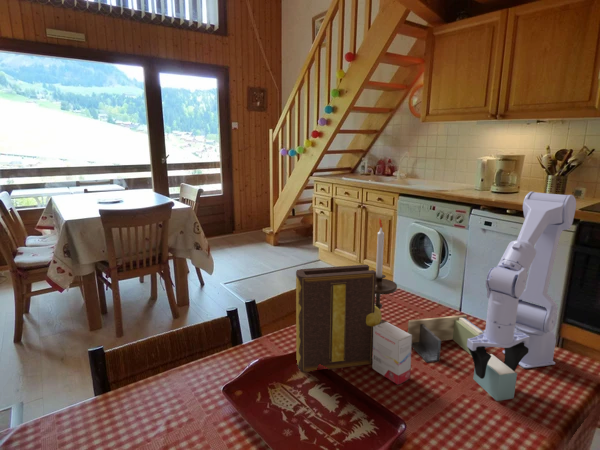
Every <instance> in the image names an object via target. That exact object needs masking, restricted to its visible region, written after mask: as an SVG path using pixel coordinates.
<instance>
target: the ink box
mask: <svg viewBox="0 0 600 450" xmlns="http://www.w3.org/2000/svg"><path fill="white" fill-rule="evenodd" d="M411 343H412V335H411V334H409V333H408V331H405V330H403V329H401V328H399V327H398V326H396V325H394V324H392V323H390V322H389V323H388V321H387V322H384V323H381V324H379V325H376V326H373V355H372V369H373V370H374V371H376V372H377V373H379V374H380V375H381V376H383V377H385V378H387V379H388V380H389V381H391V382H393V383H394V384H395V385H397V386H399V385H401V384H402V383H404V382H406V381H408V380H410V379H411V371H412V370H411V369H412V368H411V366H412V346H411Z"/></svg>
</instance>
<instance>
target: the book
mask: <svg viewBox="0 0 600 450" xmlns="http://www.w3.org/2000/svg"><path fill="white" fill-rule="evenodd" d="M375 286H376V270H375V269H371V270H370V265H368V264H356V265H354V264H353V265H341V266H328V267H327V266H325V267H313V268H311V267H310V268H302V269H301V268H299V269H297V270H296V271H295V292H296V293H295V295H296V297H295V302H296V303H295V305H296V306H295V310H296V311H295V312H296V313H295V318H296V319H295V321H296V323H295V324H296V325H295V331H296V333H295V334H296V335H295V337H296V339H295V343H296V345H295V346H296V347H295V348H296V349H295V350H296V359H295V360H297V363H296V366H297V365H298V366H297V369H298V368H299V369H300V370H301V371H300V370H299V369H298V370H299V371H300V372H302V373H311V372H310V371H312V372H314V371H313V370H317V368H318V365H319V364H321V365H323V366H325V367H327V368H329V369H328V370H333V369H335V370H336V369H340V368H341V369H343V368H349V367H350V368H351V367H358V366H366V365H367V366H368V365H373V326H376V325H378V324H380V322H381V320H382V317H383V316H382V311H381V309H379V308H378V307H376V306H375V303H376V294H375Z"/></svg>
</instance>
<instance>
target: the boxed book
mask: <svg viewBox="0 0 600 450" xmlns="http://www.w3.org/2000/svg"><path fill="white" fill-rule="evenodd" d="M490 355H491V358H490V359H489V361H488V364H487V367H486V373H485V377H484V378H483V379H481V378H480V377H479V376H477V375H476V373H475V367H474V371H473V376H472V378H473V380H474V381H475V382H476V383H477V384H478V385H479V386H480V387H481V388H482V389H483V390H484V391H485V392H487V394H488V395H489V396H491V398H493V399H494V400H495V401H496V402H499V401H505V400H511V399H514V398H515V393H516V392H515V391H516V386H517V385H516V384H517V377H518V373H517V372H516V370H515V371H513V370H512V369H511V368H509V367H508V366H507V365H506V364H504V362H503V361H502V360H501V359H499V358H498V357H497V356H495V354H492V353H491V354H490Z"/></svg>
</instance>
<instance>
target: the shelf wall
mask: <svg viewBox="0 0 600 450" xmlns="http://www.w3.org/2000/svg"><path fill="white" fill-rule="evenodd" d="M459 318H466V319H467V318H468V315H466V314H461V315H449V316H440V317H430V318H420V319H409V320H408V322H407V333H409V334H411V335H412V343H414V342H419V336H420V324H424V325H425V326H426V327H427V328H428V329H429V330H430V331H431V332H432V333H434V334H435V335H436V336H437V337H438V338H439V339H440V340H441V342H443V341H450V340H452V341H453V331H454V321H455V320H459ZM467 320H468V319H467Z"/></svg>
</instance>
